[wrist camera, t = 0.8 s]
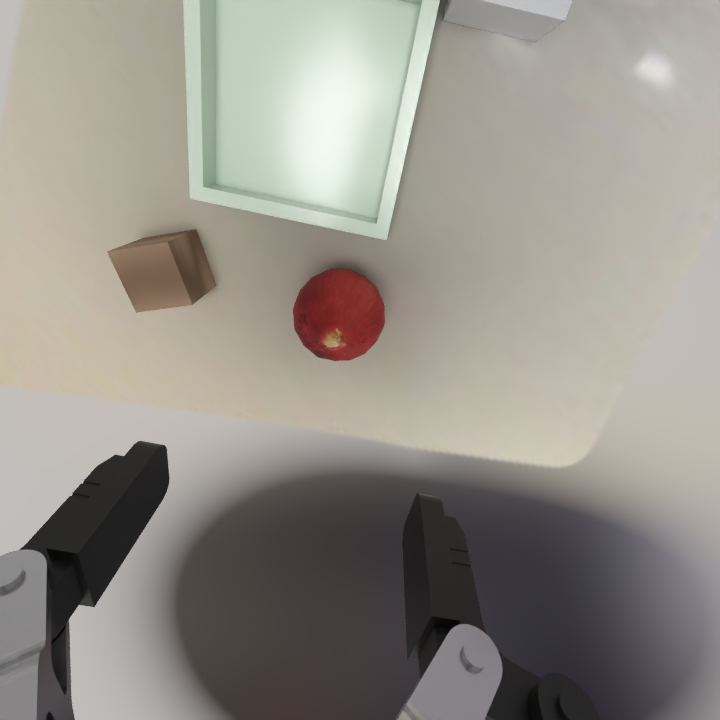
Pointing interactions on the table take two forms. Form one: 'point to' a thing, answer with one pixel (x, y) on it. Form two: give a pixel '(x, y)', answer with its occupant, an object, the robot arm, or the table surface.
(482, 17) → the grey block
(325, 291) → the onion
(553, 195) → the table surface
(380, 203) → the dish
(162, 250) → the walnut block
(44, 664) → the robot arm
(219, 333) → the table surface
